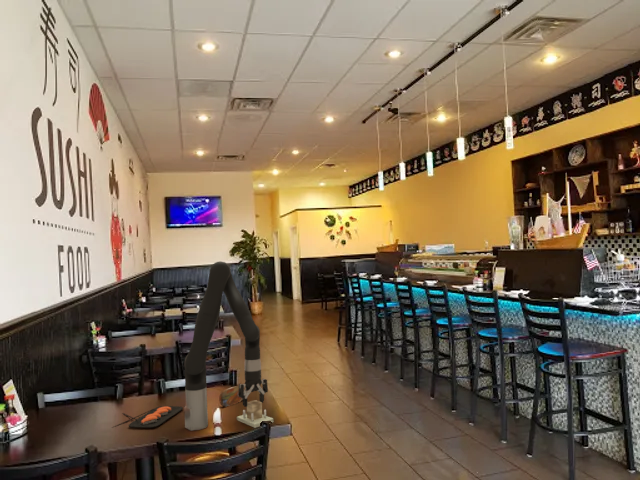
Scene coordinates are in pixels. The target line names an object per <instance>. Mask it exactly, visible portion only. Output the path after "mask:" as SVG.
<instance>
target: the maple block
mask: <svg viewBox="0 0 640 480" xmlns="http://www.w3.org/2000/svg"><path fill="white" fill-rule="evenodd" d="M251 413H253V416H254V420H256V419H260V418H262V414H263V403H262V402H260V401H259V400H257V399H255V400H250V401H247V407H246V414H247V418H248V419H251Z"/></svg>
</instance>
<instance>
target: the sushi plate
mask: <svg viewBox="0 0 640 480" xmlns="http://www.w3.org/2000/svg"><path fill="white" fill-rule="evenodd" d="M183 409H184V407H183V406H177V405H176V406H173V405H172V406H171V405H167V406H165V405H161V406H157V407H155V408H152V409H150V410H148V411H145V412H143V413H141V414H139V415H137V416H135V417H133V416H131V415H128V414H126V413H124V412H122V415H124V416H126V417H127V418H130V419H127V420H126V421H123V422H121V423H119V424H115V425H114V426H112V427H111V428H112V429H113V428H116V427H118V426H121V425H124V424H125V423H128V422H130V421H132V420H134V421H132V422H131V423H129V424H128V428H145V429H147V428H149V429H151V428H157V427H159V426H160V425H162V424H163V423H165V422H166V421H167V420H170V419H171V418H172V417H173V416H175V415H176V414H178V413H180V411H182V410H183Z"/></svg>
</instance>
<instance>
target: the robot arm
mask: <svg viewBox="0 0 640 480" xmlns="http://www.w3.org/2000/svg"><path fill="white" fill-rule="evenodd" d="M223 294H224V295H225V297H226V300H227V303H228V305H229V307H230V308H229V309H230V310H231V312H232V314H233V315H234V318H235V319H236V321H237V323H238V325H239V328H240V330H241V332H242V335H243V336H244V340H245V341H244V342H245V343H244V344H245V347H244V368H243V369H244V380H245V382H244V383H238V386H239V394H238V396H239V397H240V398H242V406H243V407H245V408H247V402H248V397H249V395H250V394H251V393H254V392H258V393H259V394H258V395H259V400H258V401H260V402H262V404H263V403H264V402H265V394H266V393H268V392H269V390H268V389H269V388H268V387H269V386H268V379H265V378H262V361H261V348H260V340H261V339H260V337H261V334H260V333H261V330H260V328H259V326H258V325H257V324H256V323H255V321H254V320H253V317H252V313H251V311H250V309H249V306H248V305H247V304H246V302H245V300H244V298H243V296H242V294H241V293H240V291H239V289H238V288H237V285H236V283H235V281H234V278H233V275H232V270H231V267H230V265H229V264H228V263H226V262H225V261H216V262H214V263H212V265H211V266H210V268H209V275H208V280H207V287H206V290H205V293H204V296H203V297H202V300H201V302H200V306H199V308H198V311H197V316H196V320H195V325H194V329H193V337H192V342H191V345H190V348H189V350H188V353H187V355H186V356H185V358H184V362H183V364H184V379H185V381H184V385H185V386H184V387H185V389H184V390H185V406H184V407H183V409H184V428H185V429H187V430H188V431H199V430H203V429H205V428H207V427H208V426H209V417H208V415H209V414H208V412H209V411H208V394H207V393H208V389H207V355H208V350H209V346H210V342H211V341H212V339H213V334H214V333H215V330H216V327H217V324H218V320H219V316H220V312H221V307H222V298H223ZM261 385H262V387H261Z"/></svg>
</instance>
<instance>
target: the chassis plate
mask: <svg viewBox="0 0 640 480" xmlns="http://www.w3.org/2000/svg"><path fill="white" fill-rule="evenodd" d="M236 421H238V422H240V423H243V424H245V425H247V426H250V427H252V428H255V429H256V428H258V427H259V428H260V427H261V426H260V423H261V422H262V421H271V422H272V423H274V418H273V417H270V416H268V415H267V409H263V413H262V418H260V419H256V420H254V416H253V413H251V419H248V418H247V413H246V409H243V410H242V415H239V416H236Z"/></svg>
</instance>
